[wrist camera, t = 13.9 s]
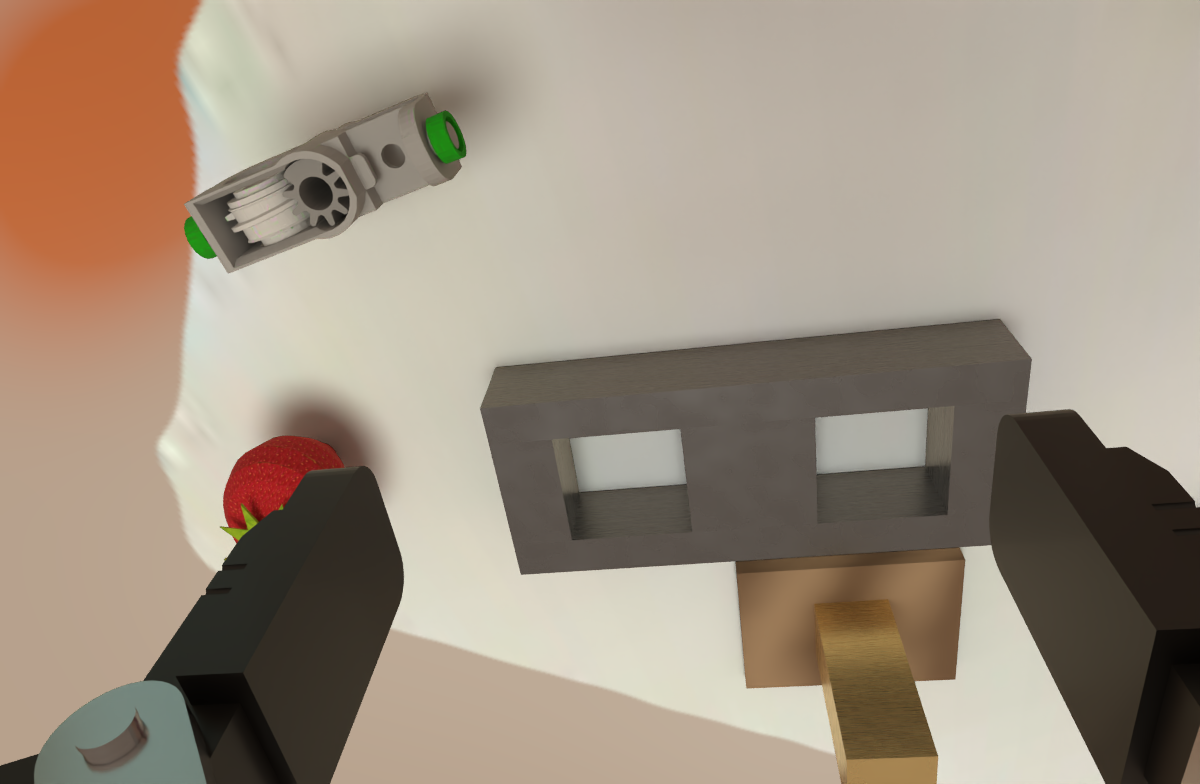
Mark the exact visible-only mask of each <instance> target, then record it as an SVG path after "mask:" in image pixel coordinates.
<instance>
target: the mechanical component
mask: <svg viewBox="0 0 1200 784" xmlns="http://www.w3.org/2000/svg"><path fill="white" fill-rule="evenodd" d="M465 156H466V145H465V141H464V138H463V135H462V133H461V130H460V128H459V126H458V124H457V122H456V120H455V119H454V118H453V116H452V115H451V114H450V113H449V112H448V111H446V110H445V111H443V112H441V113H438V114H437V113H436V110H435V108H434V106H433V104H432V102H431V100H430V98H429V96H428V93H425V94H421V95H419V96H416V97H413V98H411V99H408V100H406V101H404V102H401V103H399V104H397V105H394V106H392V107H390V108H387V109H385V110H382V111H380V112H378V113H375V114H373V115H371V116H368V117H366V118H364V119H361V120H359V121H357V122H349V123H346V124H344V125H342V126H340V127H339V128H338V129H337V130H329V131H325V132H323V133H321V134H319V135H317V136H316V137H314V138H313V139H311V140H310V141H308V142H307V143H305V144H303V145H300V146H298V147H296V148H293V149H291V150H289V151H286V152H284V153H281V154H279V155H277V156H274V157H272V158H270V159H267V160H265V161H263V162H260V163H258V164H256V165H254V166H251V167H249V168H247V169H245V170H243V171H241V172H239V173H237V174H235V175H233V176H231V177H229V178H227V179H225V180H224V181H222V182H220V183H219V184H217V185H215V186H214V187H212V188H210V189H208V190H206V191H205V192H203V193H201V194H200V195H198V196H196V197H195V198H193V199H191V200H190V201H188V202H187V203H185V204H184V205H185V206H186V208H187V210H188V211H189V213H190V214H191V217H189V218H188V219H187V220H186V221H185V226H184V229H185V235H186V237H187V240H188V242H189V244H190V245H191V247H192V248H193V249H194V250H195V252H196V253H198V254H199V255H200V256H202V257H204V258H207V259H210V258H214V257H216V256H217V257H218V258H219V260H220V262H221V263H222V265H223V266H224V268H225V269H226V271H227V273H231V272H233V271H236V270H238V269H241V268H244V267H246V266H249V265H251V264H254V263H256V262H259V261H261V260H264V259H267V258H269V257H272V256H274V255H277V254H279V253H282V252H284V251H287V250H289V249H292V248H295V247H297V246H300V245H302V244H305V243H307V242H310V241H312V240H315V239H326V238H332V237H335V236H337V235H339V234H341V233H342V232H344V231H345V230H346V229H347V228H348V227H349V226H350V225H351V224H352V223H353V222H354V221H355V220H356V219H357V218H358V217H360V216H363V215H365V214H368V213H370V212H373V211H375V210H377V209H378V208H379V207H380V206H381V205H382V204H383V203H385V202H388V201H390V200H393V199H395V198H398V197H400V196H403V195H405V194H408V193H410V192H413V191H416V190H418V189H421V188H423V187H426V186H428V185H432V186H436V185H439V184H441V183H444V182H446V181H449V180H451V179H453V178H454V176H455V175H456V174H457V173H458V171H459V170H460V169H461V167H462V166H461V164H460V162H459V159H461V158H463V157H465Z"/></svg>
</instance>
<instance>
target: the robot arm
mask: <svg viewBox="0 0 1200 784" xmlns="http://www.w3.org/2000/svg"><path fill="white" fill-rule="evenodd" d="M989 530H990V539H991V545H992V550H993V554H994V557H995V561H996V563H997V566H998V568H999V571H1000V573H1001V575H1002V577H1003V579H1004V581H1005V583H1006V585H1007V587H1008V589H1009V591H1010V593H1011V595H1012V597H1013V599H1014V601H1015V603H1016V605H1017V607H1018V609H1019V611H1020V613H1021V615H1022V617H1023V619H1024V621H1025V623H1026V625H1027V627H1028V629H1029V631H1030V633H1031V635H1032V637H1033V639H1034V641H1035V643H1036V645H1037V647H1038V649H1039V651H1040V653H1041V655H1042V657H1043V659H1044V661H1045V663H1046V665H1047V667H1048V669H1049V671H1050V673H1051V675H1052V677H1053V679H1054V681H1055V683H1056V685H1057V687H1058V689H1059V691H1060V693H1061V695H1062V697H1063V699H1064V701H1065V703H1066V705H1067V707H1068V709H1069V711H1070V713H1071V715H1072V717H1073V719H1074V721H1075V723H1076V725H1077V727H1078V729H1079V731H1080V733H1081V735H1082V737H1083V739H1084V741H1085V743H1086V745H1087V747H1088V749H1089V751H1090V753H1091V755H1092V757H1093V759H1094V761H1095V763H1096V765H1097V767H1098V769H1099V771H1100V773H1101V775H1102V777H1103V779H1104V781H1105V784H1200V507H1199V508H1196V506H1195V501H1194V500H1193V499H1192V497H1191V496H1190V495H1189V494H1188V493H1187V492H1186V491H1185V489H1184V488H1183V487H1182V486H1181V485H1180V484H1179V483H1178V482H1177V480H1176V479H1175V478H1174V477H1173V476H1172V475H1171V474H1170V473H1169V471H1167V470H1165V469H1164V468H1162V467H1160V466H1159V465H1157V464H1155V463H1153V462H1152V461H1150V460H1148V459H1146V458H1145V457H1143V456H1141V455H1140V454H1138V453H1136V452H1134V451H1133V450H1131V449H1129V448H1127V447H1118V448H1105V446H1104V445H1103V444H1102V443H1101V441H1100V440H1099V439H1098V438H1097V436H1096V435H1095V434H1094V433H1093V432H1092V430H1091V429H1090V428H1089V427H1088V425H1087V424H1086V423H1085V422H1084V420H1083V419H1082V418H1081V417H1080V415H1079V414H1078V413H1077V412H1075V411H1074V410H1071V409H1068V410H1056V411H1044V412H1032V413H1019V414H1007V415H1004V416H1003V417H1002V418H1001V420H1000V423H999V426H998V432H997V441H996V451H995V462H994V472H993V482H992V493H991V503H990V514H989ZM403 584H404V571H403V562H402V557H401V553H400V550H399V547H398V544H397V541H396V538H395V535H394V532H393V529H392V526H391V523H390V520H389V517H388V514H387V511H386V508H385V505H384V502H383V499H382V496H381V493H380V490H379V487H378V484H377V481H376V478H375V476H374V474H373V473H372V471H371V470H370V469H369V468H368V467H365V466H359V467H346V468H334V469H322V470H312V471H309V472H308V473H306V474H305V476H304V477H303V478H302V480H301V481H300V483H299V485H298V486H297V488H296V489H295V491H294V492H293V494H292V495H291V497H290V499H289V500H288V502H287V503H286V505H285V506H284V508H283V509H282V510H273V511H272V512H271V513H269V514H268V515H267V516H266V517H265V518H263V519H262V520H261V521H260V522H259V523H257V524H256V525H255V526H254V527H252V528H251V529H250V530H249V531H248V532H246V533H245V534H244V535H243V536H242V537H241V538H240V540H239V541H238V543H237V544H236V545H235V547H234V548H233V550H232V551H231V553H230V554H229V556H228V557H227V559H226V560H225V562H224V563H223V565H222V571H218V572H217V573H216V575H215V576H214V578H213V579H212V581H211V582H210V584H209V585H208V587H207V588H206V595H201V597H200V598H199V600H198V601H197V603H196V604H195V606H194V607H193V609H192V610H191V612H190V613H189V614H188V616H187V617H186V619H185V621H184V622H183V623H182V625H181V626H180V628H179V629H178V631H177V632H176V634H175V635H174V637H173V638H172V639H171V641H170V642H169V644H168V645H167V647H166V648H165V650H164V651H163V653H162V654H161V656H160V657H159V659H158V660H157V661H156V663H155V664H154V666H153V667H152V669H151V670H150V672H149V673H148V675H147V676H146V678H145V679H144V681H140V682H136V683H131V684H127V685H124V686H121V687H118V688H116V689H113V690H111V691H109V692H106V693H104V694H102V695H100V696H99V697H97V698H95V699H93V700H92V701H90V702H88V703H87V704H85V705H84V706H83V707H81V708H79V709H78V710H77V711H76V712H74V713H73V714H72V715H70V716H69V717H68V718H67V719H66V720H65V721H64V722H63V723H62V724H61V725H60V726H59V727H58V728H57V729H56V730H55V731H54V733H52V735H51V736H50V737H49V739H48V740H47V741H46V743H45V744H44V746H43V748H42V750H41V751H40V753H39V754H37V755H34V756H30V757H27V758H24V759H20V760H17V761H14V762H11V763H8V764H4V765H1V766H0V784H330V782H331V779H332V777H333V774H334V772H335V769H336V767H337V764H338V761H339V759H340V756H341V753H342V751H343V749H344V746H345V743H346V741H347V738H348V736H349V733H350V730H351V728H352V725H353V723H354V720H355V718H356V715H357V712H358V710H359V707H360V705H361V702H362V700H363V697H364V694H365V692H366V689H367V687H368V684H369V681H370V679H371V676H372V674H373V671H374V668H375V666H376V664H377V660H378V658H379V656H380V653H381V651H382V648H383V645H384V643H385V640H386V638H387V635H388V633H389V630H390V627H391V625H392V622H393V620H394V617H395V615H396V612H397V609H398V607H399V604H400V601H401V598H402V593H403Z"/></svg>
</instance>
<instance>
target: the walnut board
mask: <svg viewBox="0 0 1200 784" xmlns="http://www.w3.org/2000/svg"><path fill="white" fill-rule="evenodd" d="M964 568H965V559H964V556H963V554H962V552H961V550H960V548H946V549H930V550H914V551H898V552H882V553H866V554H850V555H834V556H818V557H802V558H786V559H770V560H754V561H738V562H736V573H737V584H738V596H739V608H740V619H741V631H742V643H743V654H744V666H745V677H746V688H767V687H790V686H813V685H822V682H821V677H820V672H819V667H818V662H817V657H816V638H815V613H814V604H819V603H836V602H852V601H868V600H884V599H888V600H889V603H890V606H891V609H892V612H893V616H894V619H895V622H896V625H897V628H898V631H899V635H900V638H901V641H902V644H903V647H904V650H905V653H906V657H907V660H908V663H909V666H910V669H911V672H912V676H913V679H914V681H929V680H952V679H955V677H956V665H957V652H958V640H959V628H960V616H961V604H962V592H963V580H964Z"/></svg>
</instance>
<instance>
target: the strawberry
mask: <svg viewBox="0 0 1200 784" xmlns="http://www.w3.org/2000/svg"><path fill="white" fill-rule="evenodd" d="M334 468H345V467H344V465H343V463H342V461H341V460H340V458H339V457H338V455H337V454H336V452H335V450H334V449H333V448H332V447H331V446H330V445H328V444H326V443H322V442H320V441H318V440H315V439H311V438H306V437H297V436H280V437H275V438H272V439H270V440H268V441H266V442H265V443H263V444H261V445H259V446H257V447H255V448H253V449H252V450H250V451H248V452H246V453H245V454H244V455H243V456H242V457H240V458H239V459H238V461H237V462H236V464H235V466H234V467H233V469H232V472H231V474H230V477H229V479H228V482H227V484H226V488H225V491H224V497H223V507H224V513H225V518H226V521H227V523H228V526H229V527H221V526H220V528H222V529H223V530H224V531H226V532H227V533H229V534H230V535H232V536H233V538H234V540H235V542H236V543H238V541H239V540H240V538H241V537H242V536H243V535H244V534H245V533H246V532H248V531H249V530H250V529H251V528H252V527H254V526H255V525H256V524H257V523H259V522H260V521H261V520H262V519H263V518H265V517H266V516H267V515H268V514H269V513H271V512H272V511H273V510H282V509H283V508H284V506H285V505H286V503H287V502H288V500H289V499H290V497H291V495H292V494H293V492H294V491H295V489H296V488H297V486H298V485H299V483H300V481H301V480H302V478H303V477H304V476H305V474H306V473H308V472H309V471H312V470H322V469H334ZM226 559H227V558H225V559H224V560H226Z"/></svg>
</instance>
